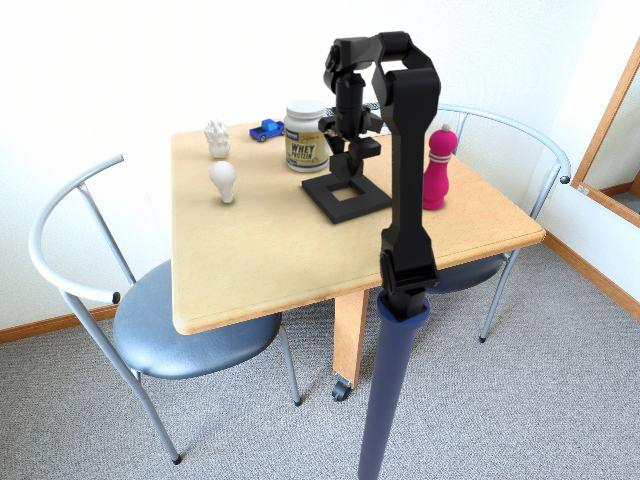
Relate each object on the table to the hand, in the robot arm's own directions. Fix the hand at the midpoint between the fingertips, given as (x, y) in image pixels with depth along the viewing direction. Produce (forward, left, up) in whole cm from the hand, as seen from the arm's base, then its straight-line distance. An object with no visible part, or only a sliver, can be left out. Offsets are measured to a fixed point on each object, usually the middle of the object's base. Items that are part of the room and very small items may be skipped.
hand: (346, 169), depth 88 cm
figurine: (+36, +22, -8) cm, 43 cm away
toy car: (+43, +4, -8) cm, 44 cm away
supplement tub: (+20, +1, -8) cm, 22 cm away
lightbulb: (+11, +27, -8) cm, 30 cm away
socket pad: (0, 0, -8) cm, 8 cm away
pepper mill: (-12, -17, -8) cm, 22 cm away
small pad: (0, 0, -1) cm, 1 cm away
